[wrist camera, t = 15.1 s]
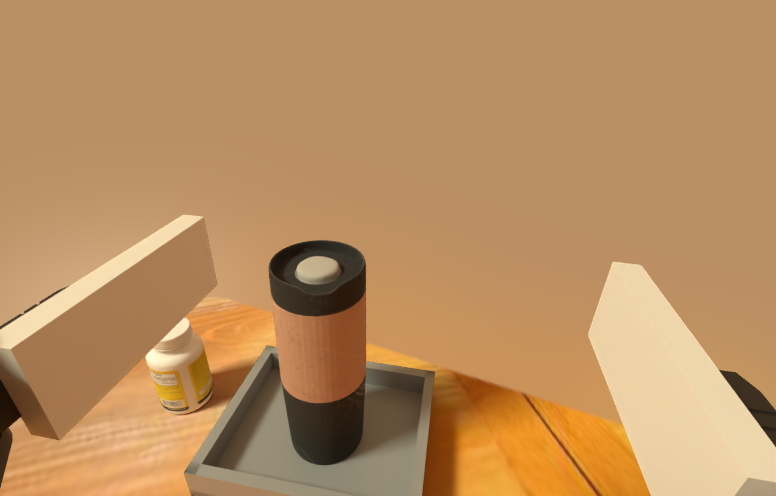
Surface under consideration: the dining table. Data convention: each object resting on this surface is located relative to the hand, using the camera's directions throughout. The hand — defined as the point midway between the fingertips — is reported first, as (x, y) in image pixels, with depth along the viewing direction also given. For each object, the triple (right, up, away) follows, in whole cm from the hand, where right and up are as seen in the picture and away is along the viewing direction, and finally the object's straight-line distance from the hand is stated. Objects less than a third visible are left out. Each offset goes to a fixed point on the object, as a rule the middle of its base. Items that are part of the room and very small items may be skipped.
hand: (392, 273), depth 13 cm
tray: (-6, -19, +28) cm, 34 cm away
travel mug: (-6, -18, +28) cm, 33 cm away
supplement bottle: (-23, -16, +32) cm, 43 cm away
